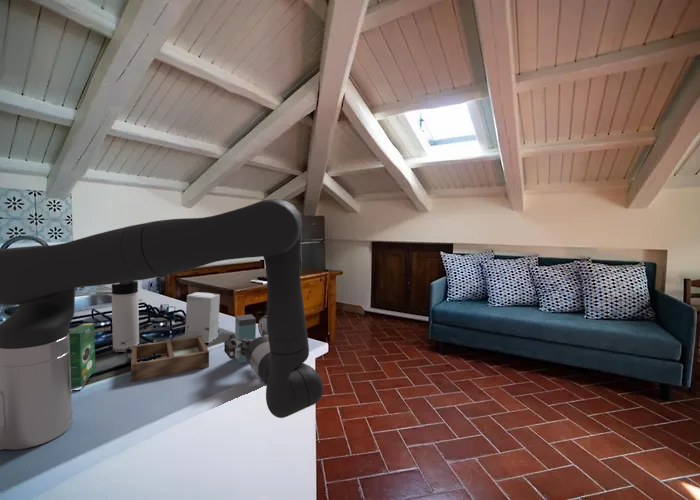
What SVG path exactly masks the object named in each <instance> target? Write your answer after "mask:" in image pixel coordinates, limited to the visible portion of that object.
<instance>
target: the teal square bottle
mask: <svg viewBox="0 0 700 500" xmlns="http://www.w3.org/2000/svg"><path fill="white" fill-rule="evenodd" d="M234 322H235V324H234V325H235V329H234V330H235V331H234V336H235V337H236V339H241V338H244V339H249V340H250V339H256V338H257V336H256V334H257V331H256V330H257V318H256V317H255V316H254V315H253V314H243V315H235V321H234ZM244 344H245V343H243V345H244ZM236 346H238V343H236ZM234 359H235V360H236V361H237V363H238V364H243V363H248V361H247V360H246V357H245V356H243V355H241V354H237V355H235V358H234Z"/></svg>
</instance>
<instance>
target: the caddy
mask: <svg viewBox="0 0 700 500" xmlns="http://www.w3.org/2000/svg"><path fill="white" fill-rule="evenodd" d="M154 353H155V354H158V355H161V356H167V358H161V359H155V360H154V359H152V360H149V361H140V362H137V360H139V359H144V358H148V357H150V356H152V355H153V354H154ZM130 357H131V358H130V359H131V361H130V362H131V363H130V369H131V370H130V376H131V377H130V378H131V381H130V382H137V381H141V380H147V379H152V378H156V377H162V376H167V375H172V374H177V373H183V372H188V371H193V370H199V369H203V368H208V367H210V351H209V349H208V347H207V344H205V343H204V341H203V339H202V337H201V336H197V337H190V338H185V337H184V338H177V339H172V340H171V339H170V340H164V341H157V342H150V343H142V344H139V345H135V346H132V351H131V356H130Z"/></svg>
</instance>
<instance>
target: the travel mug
mask: <svg viewBox="0 0 700 500" xmlns="http://www.w3.org/2000/svg"><path fill="white" fill-rule="evenodd" d="M138 281H139V280H137V281H131V282H124V283H116V284H111V317H112V321H111V322H112V323H111V325H112V326H111V327H112V351H113V352H114V351H115V353H117V352H124V353H126V352H125V350H126V348H128V347H132V346H135V345H138V344H139V345H140V330H139V329H140V324H139V323H140V319H139V311H140V310H139V289H138V288H139V282H138Z"/></svg>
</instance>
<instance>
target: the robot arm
mask: <svg viewBox="0 0 700 500" xmlns="http://www.w3.org/2000/svg"><path fill="white" fill-rule="evenodd" d="M302 218H303V217H302V216H301V213H300V212H299V210H298V209H297V208H296V206H294V204H292V203H291V202H289V201H286V200H284V199H279V198H278V199H277V198H272V199H271V198H269V199H264V200H259V201H257V202H255V203H252V204H248V205H246V206H243V207H240V208H236V209H234V210H230V211H226V212H223V213H220V214H215V215H210V216H205V217H188V218H186V217H185V218H170V219H163V220H162V219H161V220H155V221H154V220H153V221H149V222H145V223H144V222H143V223H139V224H133V225H128V226H125V227H120V228H116V229H112V230H107V231H104V232H103V231H102V232H100V233H95V234H91V235H89V236H88V235H87V236H85V237H82V238H81V237H80V238H78V239H75V240H71V241H66V242H64V243H58V244H51V245H46V244H43V245H31V246H20V247H19V246H18V247H10V248H9V247H8V248H3V249H0V305H4V306H15V305H18V306H17V308H16V309H15V311H14V312H13V313H12V314H11V315H10V316H9V317H8V318H7V319H6V320H4V321H3V322H1V323H0V451H2V450H12V451H14V450H23V449H29V448H32V447H36V446H40V445H43V444H45V443H47V442H50V441H53V440H54V439H56V438H58V437H59V436H61V435H63V434H64V433H66V432H67V431H68V430H69V429H70V428H71V427H72V424H73V405H72V404H73V401H72V399H73V398H72V391H71V369H70V341H69V332H70V324H71V322H72V320H73V319H74V316H75V303H76V299H75V298H76V289H78V288H87V287H96V286H97V287H98V286H108V285H112V284H120V283H124V282H131V281H142V280H143V281H144V280H148V279H153V278H154V279H155V278H159V277H164V276H165V277H166V276H168V275H174V274H179V273H182V272H185V271H189V270H193V269H196V268H200V267H203V266H206V265H209V264H213V263H216V262H221V261H229V260H238V259H248V258H258V257H259V258H263V260H264V264H265V274H266V283H267V284H266V286H267V287H266V289H267V290H266V292H267V293H266V315H267V331H266V330H262V336H257V337H256V339H250V340H249V339H244V338H241V339H236V337H235V333H232V334H230V335H229V336H228V340H224V341H223V344H224V350H223V351H224V353H225V354H226V355H227V357H228V358H229V359H232V360H233V359H236V358H235V355H237V354H241V355H243V356H245V357H246V360H247V361H248V362H247V363H248V365H249V366H250V367H251V369H252V370H253V372H254V373H255V374H256V375H257V376H258V377H259V378H260V380H261V381H262V382H263V384H264V385H265V386H266V387H265V402H266V405H267V409H268V410H269V412H270V414H271V415H272V416H274V417H276V418H279V419H284V418H287V417H289V416H291V415H294V414H296V413H298V412H301V411H303V410H304V409H307V408H310V407H311V406H315V404H317V403H318V402H319V401H320V400H321V399H322V398H323V397H322V396H323V394H324V384H323V383H324V382H323V381H322V380H323V379H322V377H321V376H320V374H319V373H318V372H317V371H316V369H315V368H313V367H312V366H310V365H309V364H306V363H305V362H306V361H307V359H308V357H309V355H310V347H309V340H308V339H309V337H308V328H307V321H306V320H307V319H306V314H305V306H304V305H305V304H304V299H303V292H302V280H301V264H300V263H301V261H300V259H301V258H300V257H301V242H302V240H301V239H302V232H303V219H302ZM236 343H238V346H236ZM243 343H245V344H244V345H243Z"/></svg>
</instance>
